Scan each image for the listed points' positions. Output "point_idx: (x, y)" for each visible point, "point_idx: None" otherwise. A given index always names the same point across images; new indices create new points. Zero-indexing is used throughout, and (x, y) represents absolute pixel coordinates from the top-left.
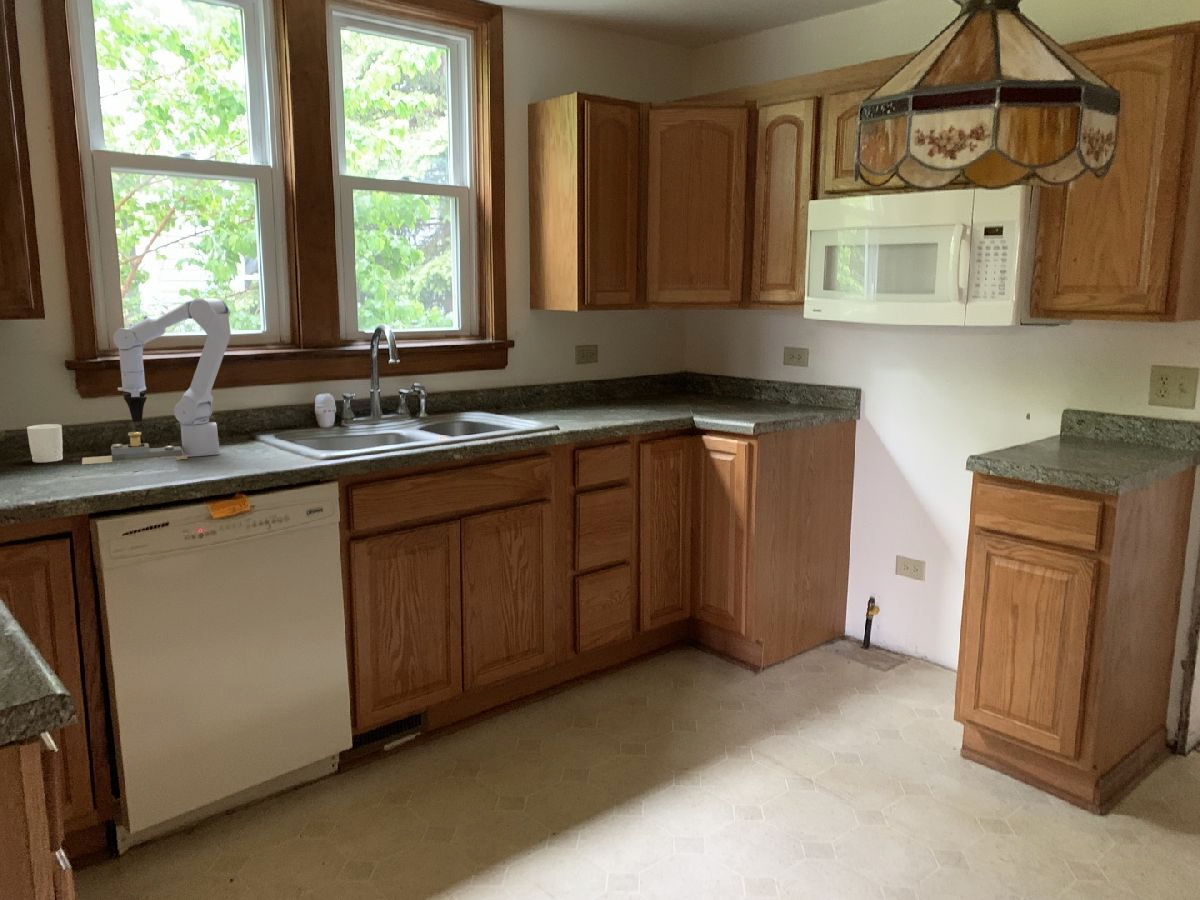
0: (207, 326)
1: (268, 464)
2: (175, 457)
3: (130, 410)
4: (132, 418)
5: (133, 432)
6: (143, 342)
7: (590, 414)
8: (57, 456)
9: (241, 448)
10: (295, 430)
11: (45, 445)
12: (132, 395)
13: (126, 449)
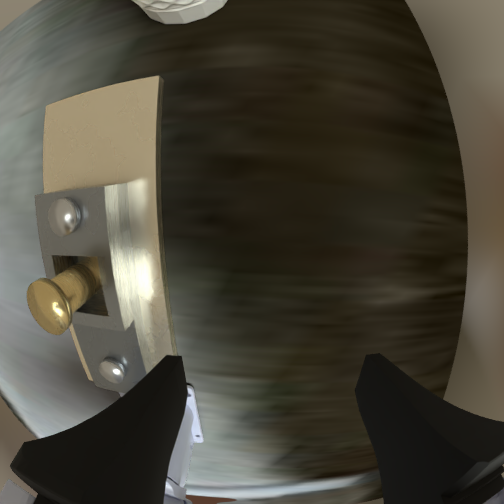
0: None
1: (51, 429)
2: (80, 356)
3: (111, 405)
4: (153, 368)
5: (49, 306)
6: None
7: None
8: (142, 8)
9: (212, 464)
10: (362, 494)
11: None
12: (7, 490)
13: (44, 246)
